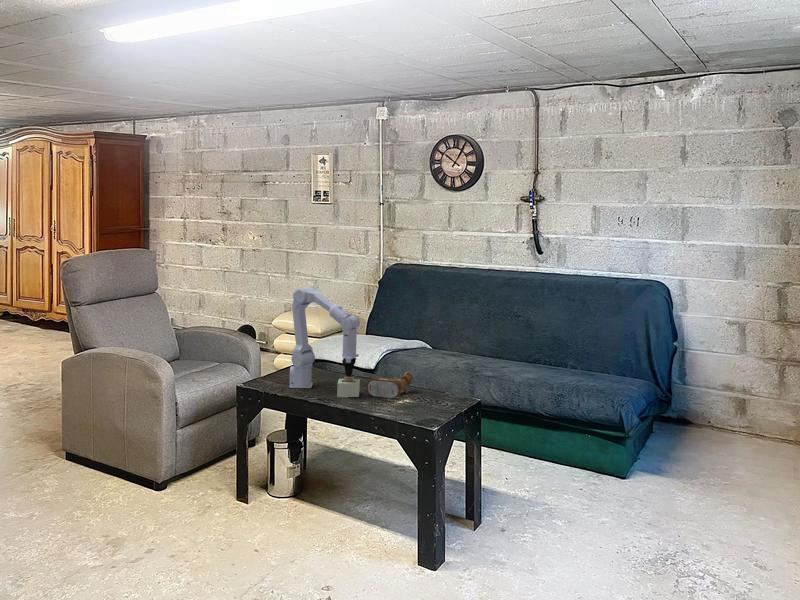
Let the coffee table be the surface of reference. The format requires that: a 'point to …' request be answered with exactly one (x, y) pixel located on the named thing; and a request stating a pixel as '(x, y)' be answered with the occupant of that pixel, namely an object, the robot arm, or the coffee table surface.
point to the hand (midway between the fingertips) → (348, 375)
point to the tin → (384, 388)
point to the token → (348, 379)
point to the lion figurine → (405, 381)
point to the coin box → (348, 388)
